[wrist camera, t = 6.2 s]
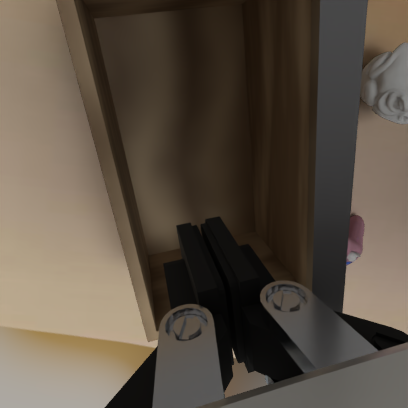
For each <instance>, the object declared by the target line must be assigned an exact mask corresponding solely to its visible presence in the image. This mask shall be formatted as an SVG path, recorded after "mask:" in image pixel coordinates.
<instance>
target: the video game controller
mask: <svg viewBox="0 0 408 408" xmlns="http://www.w3.org/2000/svg"><path fill="white" fill-rule="evenodd" d="M363 234H364V221H363V219H362V218H361V217H360V216H358V215H355V216H352V217H350V224H349V237H348V249H347V261H346V266H347V265H348V264H350V263H352V262H354V261H355V260H356V259H357V258H358V257H360V255H361V253H362V250H363V245H362V242H363Z"/></svg>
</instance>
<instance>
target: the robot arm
mask: <svg viewBox="0 0 408 408" xmlns="http://www.w3.org/2000/svg"><path fill="white" fill-rule="evenodd" d="M200 226H201V233H200V231H199V229H198V226H197V225H194V226H192V225H191V223H185V224H180V225H176V228H177V234H178V239H179V245H180V250H181V256H182V259H180V260H175V261H171V262H167V263H163V266H164V272H165V278H166V284H167V290H168V295H169V301H170V307H171V310H170V311H169V312H168V313H167V314H166V315H165V316H164V317H163V319H162V320H161V323H160V327H159V337H158V346H157V347H156V349H155V350H154V351H153V352H152V354H150V356H149V357H148V358H147V359H146V360H145V361H144V363H143V364H142V365H141V366H140V367H139V368H138V370H137V371H136V372H135V373H134V374H133V375H132V377H131V378H130V379H129V380H128V381H127V383H126V384H125V385H124V386H123V387H122V388H121V390H120V391H119V392H118V393H117V394H116V395H115V396H114V398H113V399H112V400H111V401H110V402H109V403H108V404H107V406H106V407H105V408H408V335H407V334H405V333H404V332H402V331H400V330H397V329H394V328H392V327H388V326H385V325H381V324H378V323H374V322H371V321H368V320H364V319H361V318H357V317H354V316H350V315H347V314H343V313H340V312H336V311H333V310H331V309H330V308H329V307H328V306H327V305H326V304H325V303H323V302H322V301H321V300H320V299H319V298H318V297H317V296H316V295H314V294H313V293H312V292H311V291H310V290H309V289H308V288H306V287H305V286H303V285H302V284H299V283H296V282H293V281H275V280H274V278H273V277H272V275H271V274H270V273H269V271H268V270H267V268H266V267H265V266H264V264H263V263H262V262H261V260H260V259H259V257H258V256H257V255H256V253H255V252H254V250H253V249H252V248H251V246H250V245H249V244H245V245H241V246H239V245H238V244H237V242H236V241H235V239H234V238H233V236H232V235H231V233H230V232H229V230H228V228H227V227H226V225H225V224H224V222H223V221H222V219H221V218H220V216H218V217H213V218H209V219H205V223H203V224H201V225H200ZM201 234H202V235H201ZM232 348H233V351H234V354H235V356H236V359H237V361H238V363H242V362H244V363H245V366H246V368H247V371H248V373H250V372H253V371H257V372H259V373H261V374H264V375H265V380H266V382H267V384H268V385H266V386H263V387H260V388H256V389H253V390H250V391H247V392H243V393H241V394H237V395H234V396H231V397H227V398H225V395H224V392H225V390H226V388H227V386H228V384H229V383H230V381H231V379H232V377H233V372H232V365H234V361H233V352H232Z"/></svg>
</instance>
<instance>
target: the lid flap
mask: <svg viewBox="0 0 408 408" xmlns="http://www.w3.org/2000/svg"><path fill="white" fill-rule="evenodd" d="M367 3H368V0H320V28H319V64H318V99H317V135H316V171H315V206H314V242H313V278H312V293H313V294H314V295H316V296H317V297H318V298H319V299H320V300H321V301H322V302H323V303H325V304H326V305H327V306H328V307H329V308H330V309H331V310H333V311H336V312H340V313H342V310H343V298H344V286H345V273H346V261H347V249H348V237H349V224H350V212H351V200H352V187H353V175H354V163H355V151H356V138H357V126H358V114H359V101H360V89H361V77H362V65H363V52H364V40H365V28H366V15H367Z"/></svg>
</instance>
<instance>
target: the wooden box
mask: <svg viewBox="0 0 408 408" xmlns="http://www.w3.org/2000/svg"><path fill="white" fill-rule="evenodd" d="M56 2H57V6H58V9H59V13H60V17H61V21H62V24H63V28H64V32H65V36H66V39H67V43H68V47H69V50H70V54H71V58H72V62H73V65H74V69H75V73H76V76H77V80H78V84H79V88H80V91H81V95H82V99H83V102H84V106H85V110H86V114H87V117H88V121H89V125H90V128H91V132H92V136H93V140H94V143H95V147H96V151H97V154H98V158H99V162H100V166H101V169H102V173H103V177H104V181H105V184H106V188H107V192H108V195H109V199H110V203H111V207H112V210H113V214H114V218H115V221H116V225H117V229H118V233H119V236H120V240H121V244H122V247H123V251H124V255H125V259H126V262H127V266H128V270H129V273H130V277H131V281H132V285H133V288H134V292H135V296H136V299H137V303H138V307H139V311H140V314H141V318H142V322H143V326H144V329H145V333H146V337H147V340H148V342H150V341H154V340H158V337H159V327H160V323H161V320H162V319H163V317H164V316H165V315H166V314H167V313H168V312H169V311H170V310H171V307H170V301H169V295H168V290H167V284H166V278H165V272H164V266H163V263H167V262H171V261H175V260H180V259H182V256H181V250H180V245H179V239H178V234H177V228H176V225H180V224H185V223H191V225H192V226H194V225H197V226H198V229H199V231H200V233H201V226H200V225H201V224H203V223H205V219H209V218H213V217H218V216H220V218H221V219H222V221H223V222H224V224H225V225H226V227H227V228H228V230H229V232H230V233H231V235H232V236H233V238H234V239H235V241H236V242H237V244H238V245H239V246H241V245H245V244H249V245H250V246H251V248H252V249H253V250H254V252H255V253H256V255H257V256H258V257H259V259H260V260H261V262H262V263H263V264H264V266H265V267H266V268H267V270H268V271H269V273H270V274H271V275H272V277H273V278H274V280H275V281H293V282H296V283H299V284H302V285H303V286H305V287H306V288H308V289H309V290H310V291H311V292H312V278H313V242H314V206H315V171H316V135H317V99H318V64H319V28H320V0H56ZM201 235H202V234H201Z"/></svg>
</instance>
